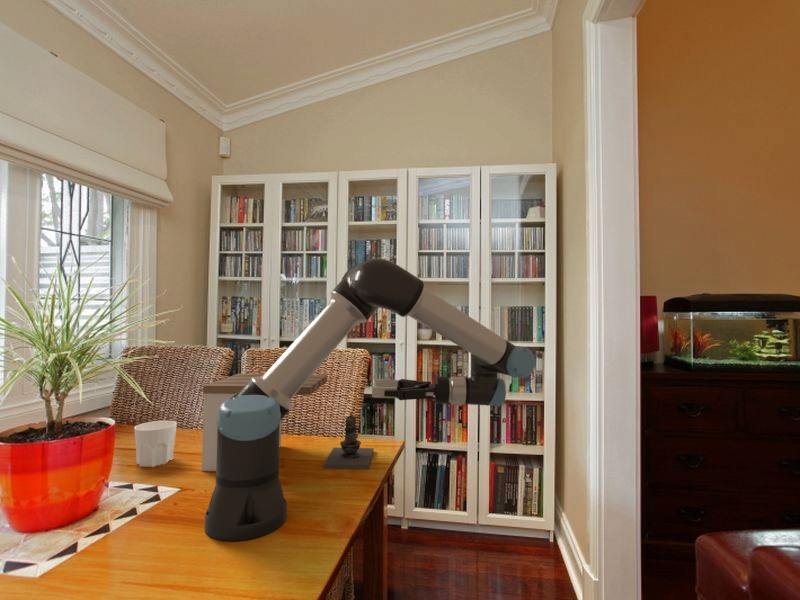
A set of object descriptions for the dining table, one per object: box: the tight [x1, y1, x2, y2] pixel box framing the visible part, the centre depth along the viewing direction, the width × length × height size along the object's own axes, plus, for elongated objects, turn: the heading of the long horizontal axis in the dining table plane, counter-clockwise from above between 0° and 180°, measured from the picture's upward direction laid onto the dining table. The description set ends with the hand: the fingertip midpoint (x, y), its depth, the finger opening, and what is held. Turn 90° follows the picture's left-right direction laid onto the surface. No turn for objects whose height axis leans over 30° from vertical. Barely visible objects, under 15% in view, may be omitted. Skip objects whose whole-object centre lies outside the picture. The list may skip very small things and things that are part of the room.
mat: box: [323, 446, 375, 470], centre depth 116 cm, size 14×12×1 cm
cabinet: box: [201, 373, 328, 472], centre depth 117 cm, size 22×28×22 cm
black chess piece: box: [339, 412, 362, 459], centre depth 116 cm, size 6×6×12 cm
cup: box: [133, 420, 178, 468], centre depth 112 cm, size 10×10×10 cm
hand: (374, 387), depth 117 cm, fingers open, 13 cm apart
